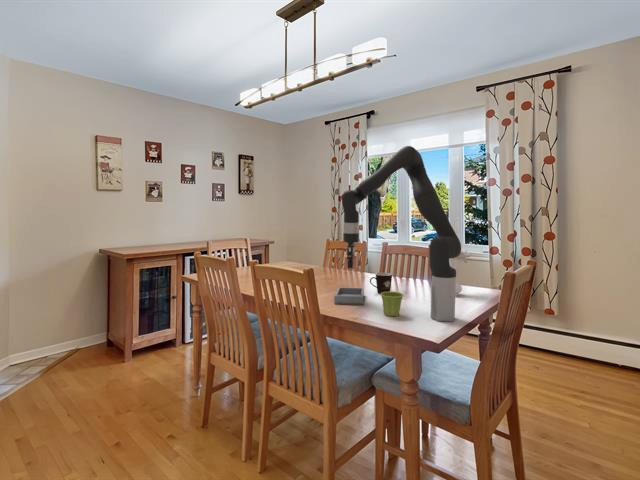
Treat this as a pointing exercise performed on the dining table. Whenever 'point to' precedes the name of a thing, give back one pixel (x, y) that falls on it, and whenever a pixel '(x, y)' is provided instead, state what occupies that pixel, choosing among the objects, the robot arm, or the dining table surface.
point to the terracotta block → (353, 263)
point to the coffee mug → (383, 282)
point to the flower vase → (453, 265)
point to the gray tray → (349, 296)
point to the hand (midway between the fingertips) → (350, 266)
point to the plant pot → (391, 303)
